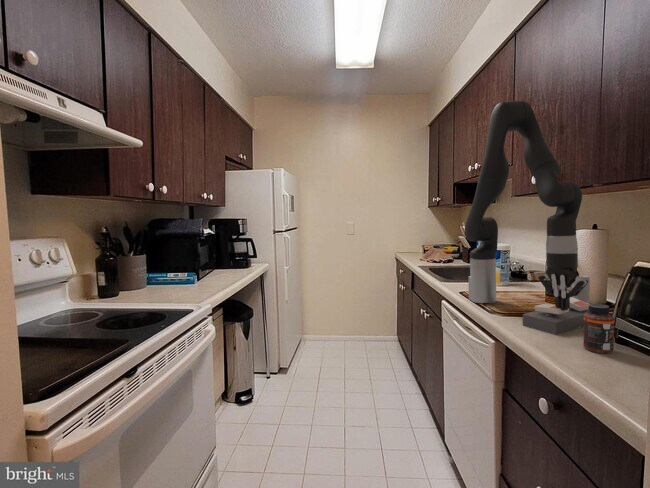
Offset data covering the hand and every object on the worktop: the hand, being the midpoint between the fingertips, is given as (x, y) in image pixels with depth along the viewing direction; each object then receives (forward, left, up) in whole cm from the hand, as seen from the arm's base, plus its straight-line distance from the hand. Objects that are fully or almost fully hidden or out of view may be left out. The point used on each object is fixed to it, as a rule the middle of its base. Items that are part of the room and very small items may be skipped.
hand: (562, 309), depth 100 cm
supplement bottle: (+13, -8, -6) cm, 17 cm away
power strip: (-3, +5, -6) cm, 8 cm away
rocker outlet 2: (-3, +11, -1) cm, 12 cm away
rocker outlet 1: (-3, 0, -1) cm, 3 cm away
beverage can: (-8, +23, -6) cm, 25 cm away
